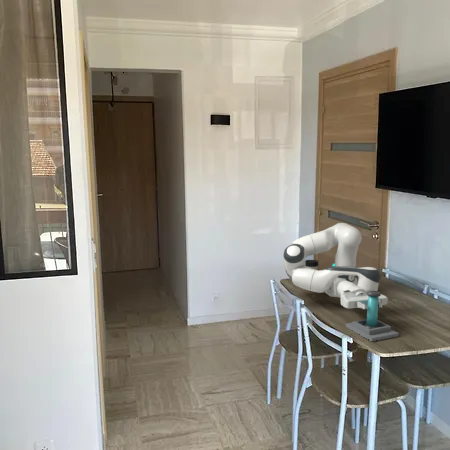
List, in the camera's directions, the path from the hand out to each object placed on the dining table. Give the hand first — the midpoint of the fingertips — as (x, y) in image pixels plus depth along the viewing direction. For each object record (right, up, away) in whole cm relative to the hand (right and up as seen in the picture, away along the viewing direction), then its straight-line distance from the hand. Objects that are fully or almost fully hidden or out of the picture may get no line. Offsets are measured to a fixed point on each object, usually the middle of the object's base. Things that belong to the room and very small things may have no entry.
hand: (373, 306), depth 204 cm
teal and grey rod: (0, -10, +3) cm, 10 cm away
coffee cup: (-14, 0, +71) cm, 73 cm away
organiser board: (0, -11, +3) cm, 12 cm away
